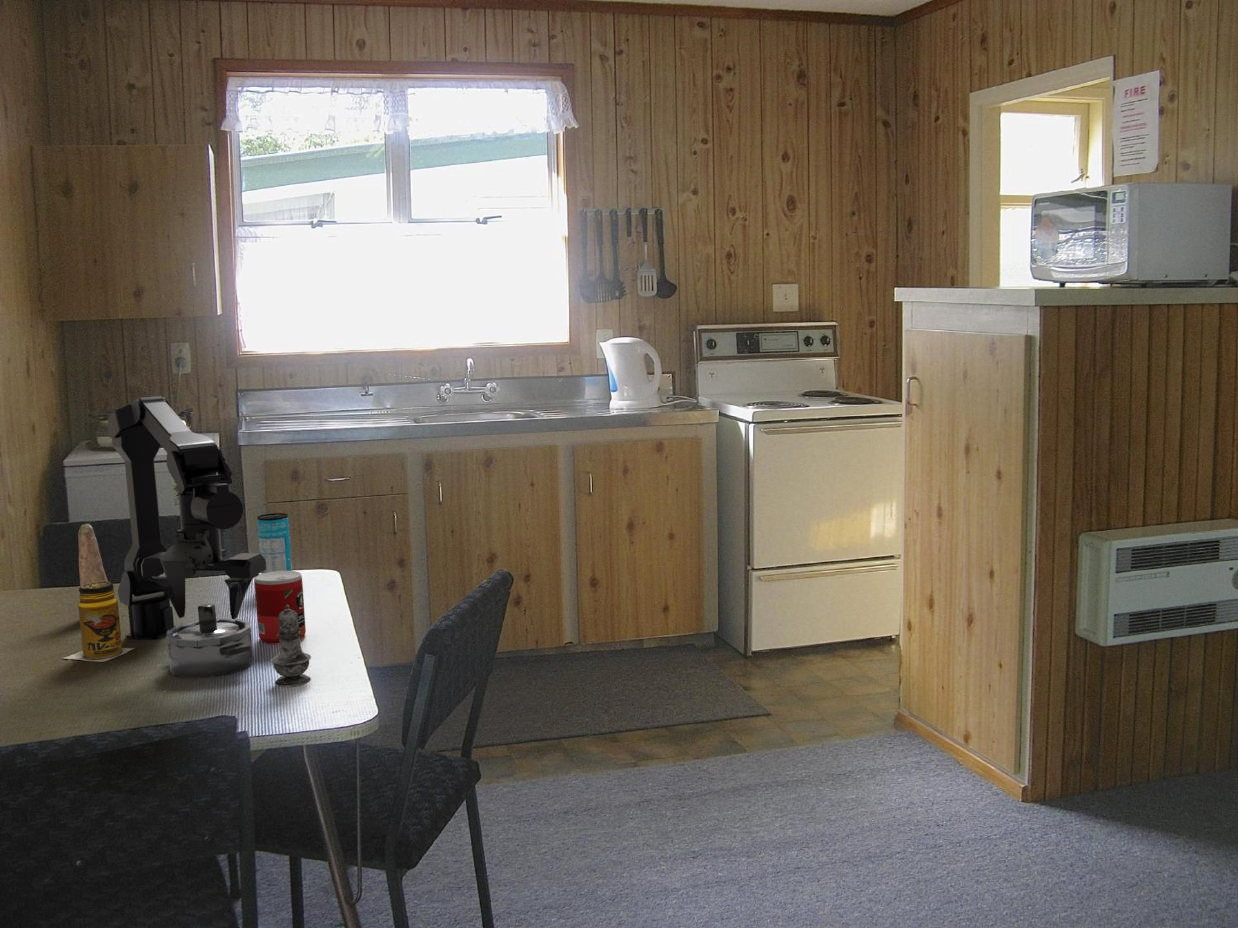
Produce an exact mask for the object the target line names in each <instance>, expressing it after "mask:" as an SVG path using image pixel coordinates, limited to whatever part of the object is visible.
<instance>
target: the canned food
mask: <svg viewBox="0 0 1238 928" xmlns="http://www.w3.org/2000/svg"><path fill="white" fill-rule="evenodd" d="M254 595H255V608H256V620H257V631H258V638H259V640H260V642H262V643H264V644H268V645H280V641H279V637H277V634H278V633H279V621H278V616H279V614H280V613H281V612H282V611H284V610H285V609H286V608H285V607H286V605H287V604H288V605H289V606H290V607H289V609H291V610H294V611H295V612H296V613H297V614H298V624H299V631H300V632H302V634H301V635H300V641H301V640H303V639H304V637H305V636H306V632H307V631H306V617H305V602H304V601H305V599H304V585H303V576H302V572H299V571H295V570H292V571H273V572H267V573H263V574H261V573H259V576H257V577H254Z"/></svg>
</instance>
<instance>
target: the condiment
mask: <svg viewBox="0 0 1238 928" xmlns="http://www.w3.org/2000/svg"><path fill="white" fill-rule="evenodd" d="M114 587H115V585H114V584H113V583H112V582H110V581H108V582H94V583H88V584H85V585H83V586H81V587H79V589H78V592H79V603H78V604H77V605H78V616H79V617H78V618H79V626H80V637H81V638H80V639H81V645H82V646H81V647H82V648H81V649H82V650H81V651H78V652H76V653H74V654H73V653H72V654H70V655H68V656H65V657H62V659H67V660H75V661H76V660H79V661H87V662H99V663H100V662H107V661H110V660H112V659H115V658H117V657H120V656H122V655H124V654H126V653H128V652H129V651H132V650H134V649H136V648H135V647H123V644H122V643H123V642H122V631H121V623H120V622H121V621H120V615H119V614H120V611H119V610H120V609H119V602H118V599H117V598H116V596H115V594H116V593H115V590H114V589H115V588H114Z"/></svg>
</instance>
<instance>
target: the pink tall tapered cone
mask: <svg viewBox="0 0 1238 928" xmlns="http://www.w3.org/2000/svg"><path fill="white" fill-rule="evenodd" d="M77 534H78V570H79V571H78V573H79V585H80V587H81V586H83V585H85V584H88V583H94V582H109V581H108V578H107V575H106V572H105V569H104V566H103V560H102V557H101V553H100V549H99V548H100V547H99V544H98V540H97V537H96V534H95V531H94V528H93V526H92V525H91V524H90V523H85V524H82V525H80V527H79V530H78V533H77ZM80 587H79V588H80Z"/></svg>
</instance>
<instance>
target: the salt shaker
mask: <svg viewBox="0 0 1238 928" xmlns="http://www.w3.org/2000/svg"><path fill="white" fill-rule="evenodd" d="M289 607H290V606H289V605H288V604H287V605H286V607H285V608H286V609H285V610H284V611H282V612H281V613H280V614H279V616H278V621H279V633H278V634H277V637H279V641H280V644H279V654H278V655H276V656H274V657H273V658H272V659H271V660H270V662H271V663H272V665H273V668H274V671H275V672H276V673H277V674H278V675H279V676H280V677H279V678H278V679H276V680H275V681H274V685H275V684H276V685H275V686H277V685H278V686H277V687H281V688H282V687H284V688H292V687H293V688H294V687H298V686H303V685H306V684H308V683H309V682H311V677H310V676H309V675H306V674H304V673H305V672H306V671H307V670H308V668H309V666H310V660H311V658H312V656H311V654H309V653H305V652H303V649H302V646H301V640H300V635H301V634H302V632H300V631H299V624H298V614H297V613H296V612H295V611H294V610H291V609H289Z"/></svg>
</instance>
